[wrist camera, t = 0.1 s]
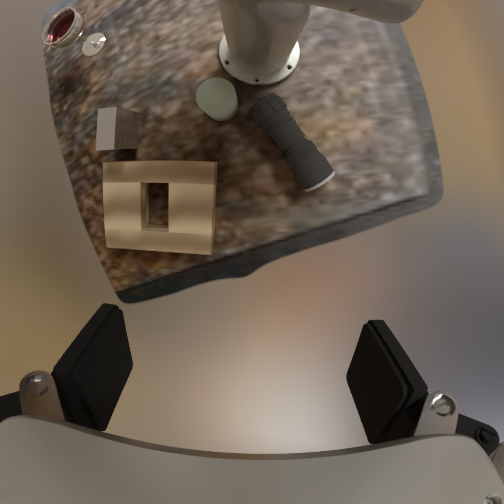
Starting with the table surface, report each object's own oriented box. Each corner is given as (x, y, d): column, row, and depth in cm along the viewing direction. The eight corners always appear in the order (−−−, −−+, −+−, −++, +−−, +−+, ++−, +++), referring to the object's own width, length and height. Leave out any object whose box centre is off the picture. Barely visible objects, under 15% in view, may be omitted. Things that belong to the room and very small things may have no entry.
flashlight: (245, 112, 40) (244, 106, 35) (273, 93, 39) (276, 85, 34) (302, 189, 45) (309, 194, 39) (329, 170, 43) (339, 173, 38)
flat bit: (123, 114, 39) (98, 108, 31) (140, 113, 39) (116, 106, 31) (121, 149, 41) (95, 150, 33) (137, 148, 42) (114, 149, 33)
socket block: (113, 161, 42) (102, 162, 38) (217, 161, 43) (215, 162, 39) (115, 239, 47) (106, 247, 43) (213, 246, 47) (210, 254, 44)
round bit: (207, 90, 39) (197, 77, 30) (239, 91, 39) (237, 78, 30) (204, 120, 40) (194, 113, 32) (237, 121, 41) (234, 114, 32)
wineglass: (74, 61, 35) (36, 47, 23) (84, 30, 32) (50, 11, 21) (103, 59, 35) (67, 41, 24) (113, 27, 33) (82, 3, 22)
